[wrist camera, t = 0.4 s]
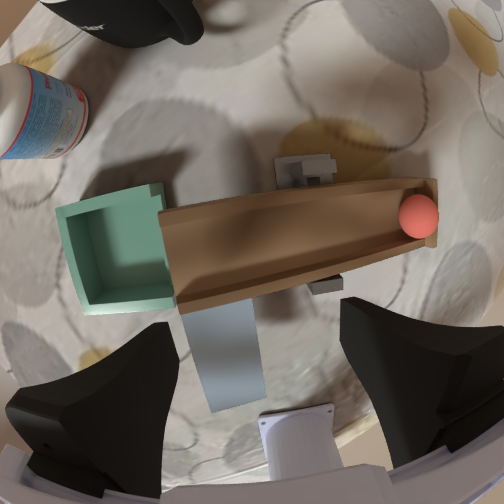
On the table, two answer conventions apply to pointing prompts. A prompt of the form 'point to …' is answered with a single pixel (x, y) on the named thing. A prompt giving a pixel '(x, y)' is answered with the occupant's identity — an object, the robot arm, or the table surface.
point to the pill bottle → (38, 114)
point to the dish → (118, 251)
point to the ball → (418, 216)
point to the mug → (132, 20)
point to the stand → (295, 176)
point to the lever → (272, 263)
